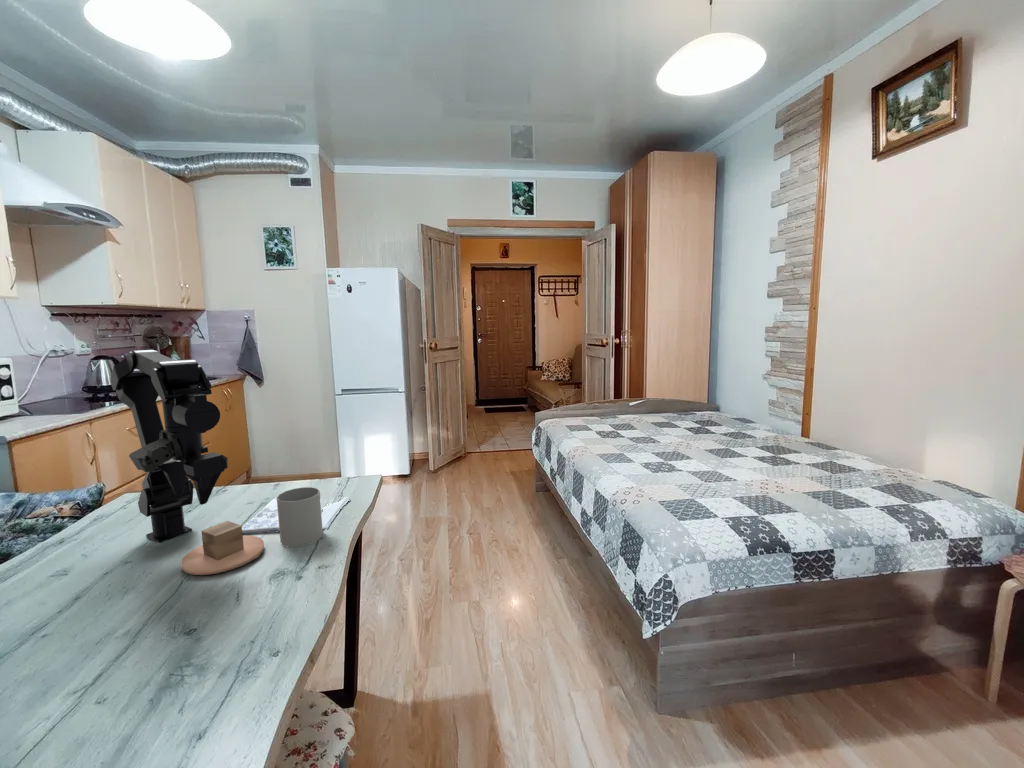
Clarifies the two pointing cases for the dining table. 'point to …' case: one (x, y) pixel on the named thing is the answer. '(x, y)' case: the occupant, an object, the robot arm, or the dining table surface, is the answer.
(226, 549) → the walnut block
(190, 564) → the salmon pink disc
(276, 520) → the patterned cloth
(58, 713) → the dining table surface
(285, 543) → the cup
